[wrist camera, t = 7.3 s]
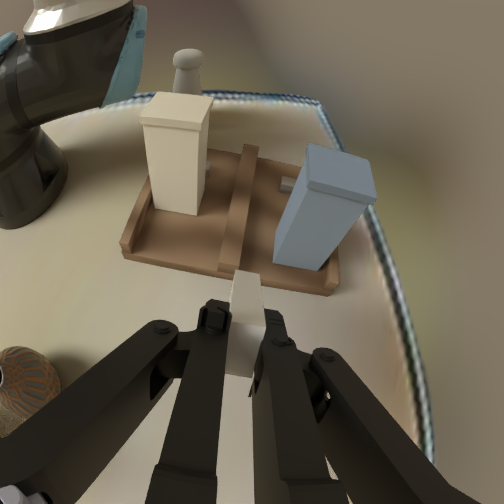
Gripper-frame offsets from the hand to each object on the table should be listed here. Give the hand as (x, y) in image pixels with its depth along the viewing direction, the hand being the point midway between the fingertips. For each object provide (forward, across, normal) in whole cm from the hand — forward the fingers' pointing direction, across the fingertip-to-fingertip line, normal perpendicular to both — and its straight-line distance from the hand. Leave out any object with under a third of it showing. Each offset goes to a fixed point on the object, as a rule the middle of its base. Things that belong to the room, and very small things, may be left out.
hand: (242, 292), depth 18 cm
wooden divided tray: (+19, -1, +2) cm, 19 cm away
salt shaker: (+30, -13, +14) cm, 36 cm away
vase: (+1, -18, -16) cm, 24 cm away
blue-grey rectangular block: (+14, +6, 0) cm, 15 cm away
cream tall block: (+17, -8, +3) cm, 19 cm away
